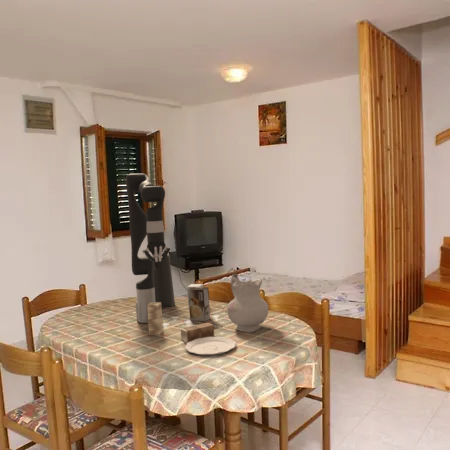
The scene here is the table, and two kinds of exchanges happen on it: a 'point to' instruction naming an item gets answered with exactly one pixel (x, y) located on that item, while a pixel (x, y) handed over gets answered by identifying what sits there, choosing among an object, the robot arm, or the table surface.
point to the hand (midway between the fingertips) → (157, 269)
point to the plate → (210, 345)
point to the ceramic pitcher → (247, 305)
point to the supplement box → (193, 286)
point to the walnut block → (197, 332)
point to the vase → (164, 284)
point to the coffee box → (199, 303)
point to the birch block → (155, 318)
